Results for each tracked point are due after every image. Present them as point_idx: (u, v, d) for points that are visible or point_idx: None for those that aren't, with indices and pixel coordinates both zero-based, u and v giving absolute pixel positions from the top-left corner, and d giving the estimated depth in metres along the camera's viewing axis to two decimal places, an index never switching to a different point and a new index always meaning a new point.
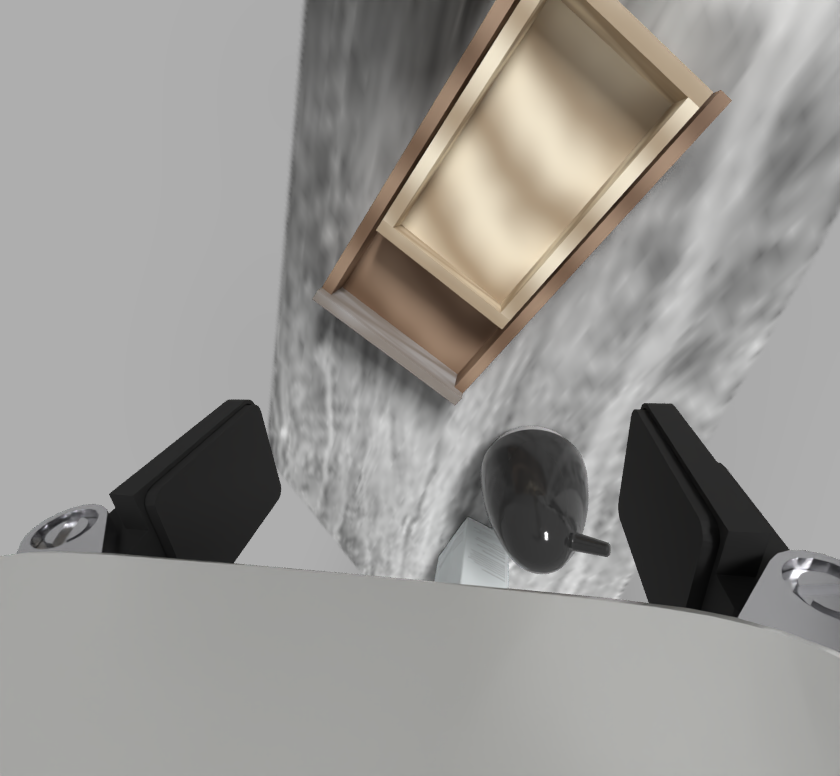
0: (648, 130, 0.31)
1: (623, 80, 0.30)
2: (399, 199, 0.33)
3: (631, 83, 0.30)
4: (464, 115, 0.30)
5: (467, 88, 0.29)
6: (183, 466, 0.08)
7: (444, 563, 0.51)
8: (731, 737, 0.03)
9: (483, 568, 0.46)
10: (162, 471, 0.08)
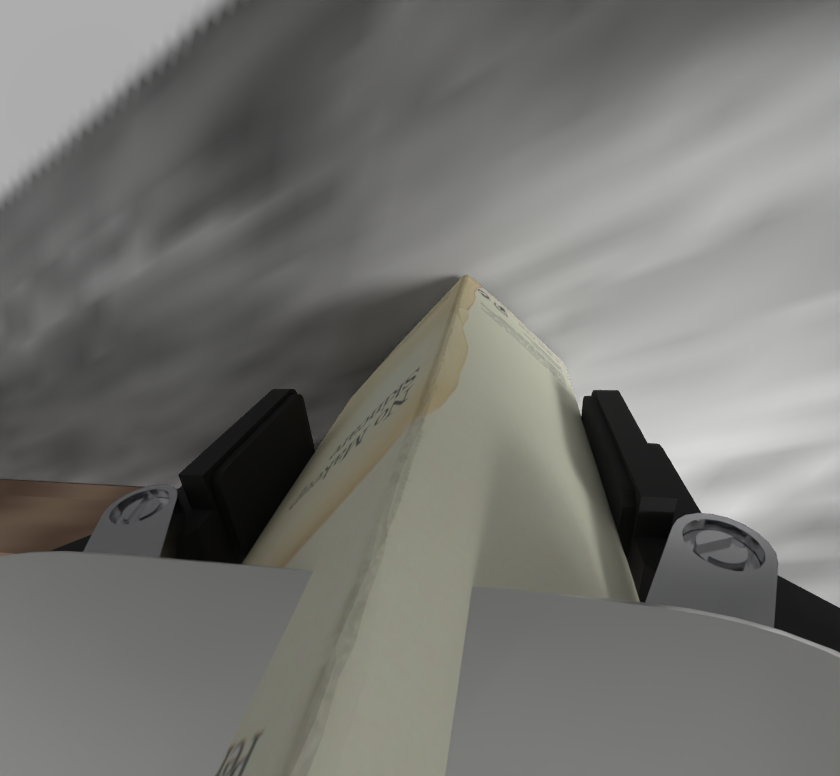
0: None
1: None
2: None
3: None
4: None
5: None
6: (242, 450, 0.09)
7: None
8: (731, 737, 0.03)
9: None
10: (224, 453, 0.08)
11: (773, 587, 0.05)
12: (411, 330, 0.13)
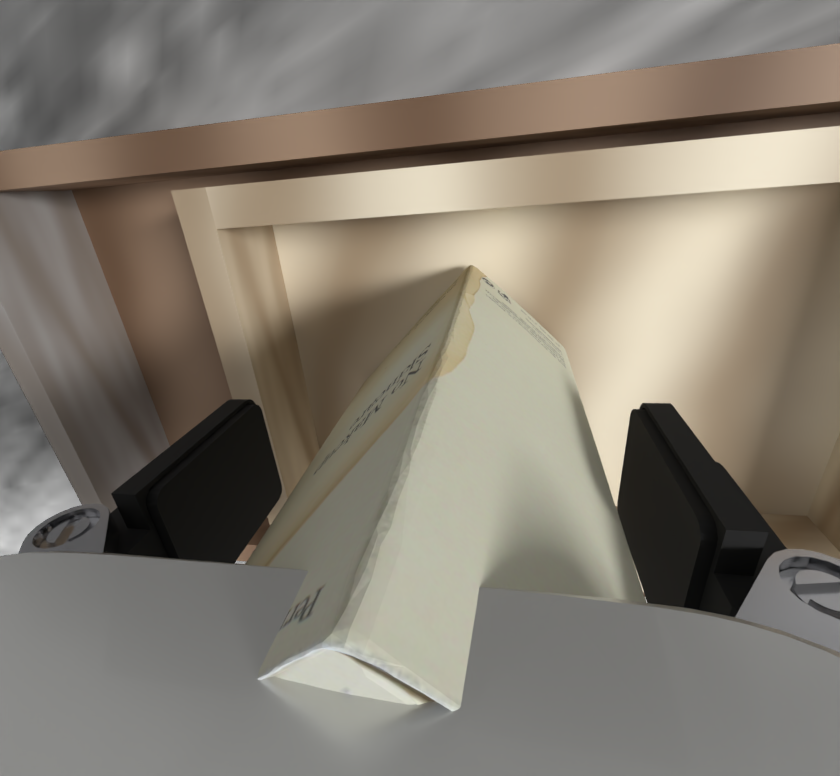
0: None
1: (811, 425, 0.14)
2: (279, 192, 0.11)
3: (813, 440, 0.14)
4: (580, 198, 0.10)
5: (651, 151, 0.09)
6: (185, 465, 0.08)
7: None
8: (731, 737, 0.03)
9: None
10: (164, 470, 0.08)
11: None
12: (420, 318, 0.14)
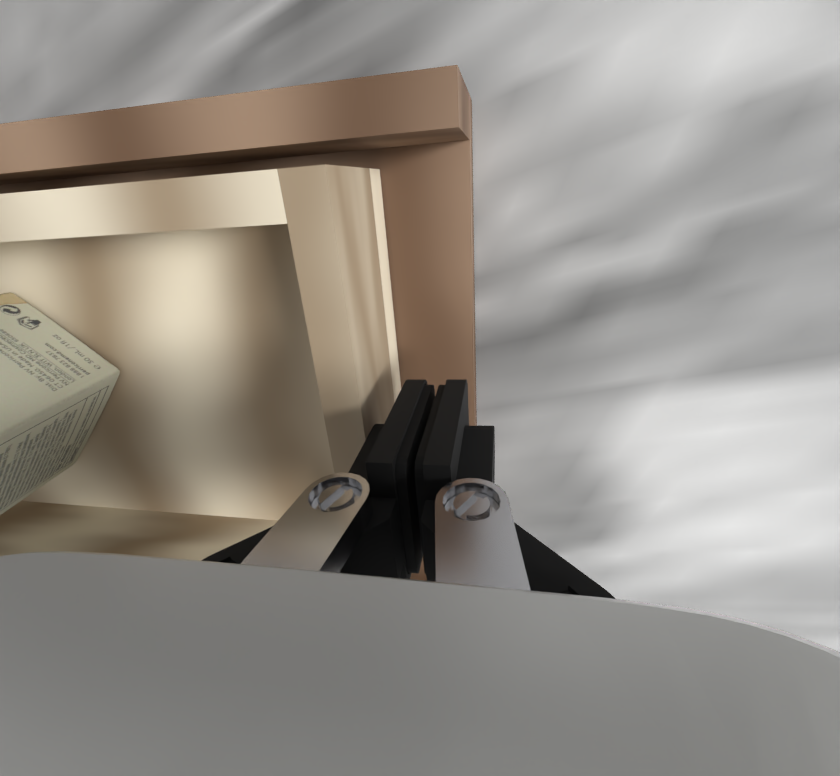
0: None
1: None
2: None
3: None
4: None
5: None
6: (412, 438, 0.09)
7: None
8: (731, 737, 0.03)
9: None
10: (400, 442, 0.08)
11: (511, 519, 0.07)
12: None
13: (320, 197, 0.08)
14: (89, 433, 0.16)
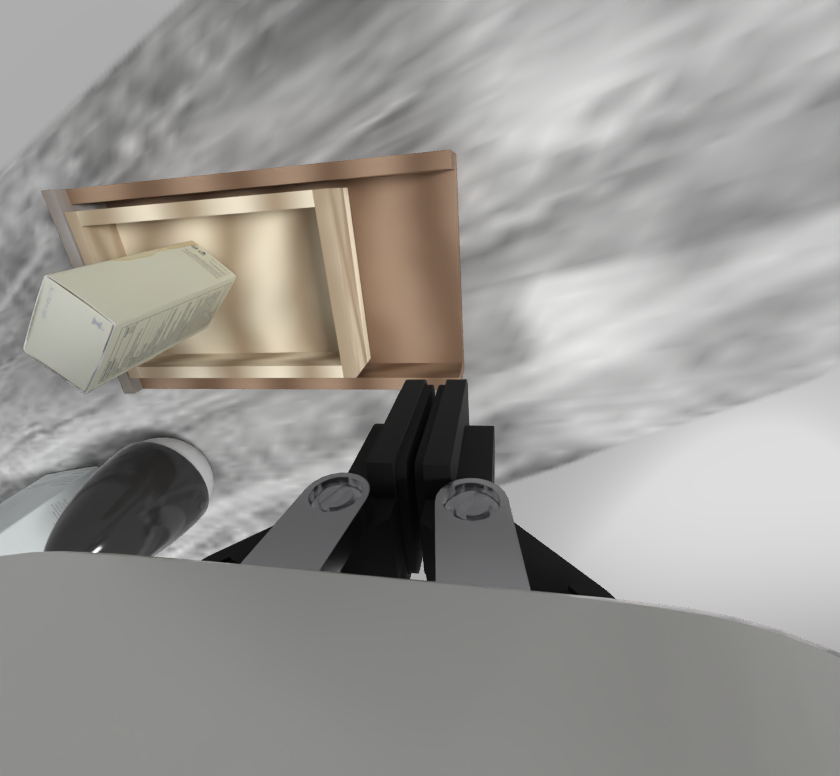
0: (331, 351, 0.35)
1: None
2: (100, 213, 0.30)
3: None
4: (192, 215, 0.29)
5: (206, 201, 0.28)
6: (412, 438, 0.09)
7: (35, 488, 0.47)
8: (731, 737, 0.03)
9: (55, 522, 0.44)
10: (400, 442, 0.08)
11: (511, 518, 0.07)
12: None
13: (325, 198, 0.27)
14: (217, 309, 0.35)
